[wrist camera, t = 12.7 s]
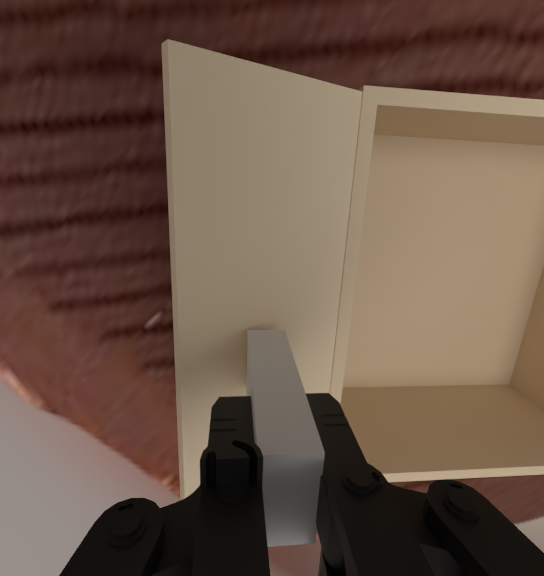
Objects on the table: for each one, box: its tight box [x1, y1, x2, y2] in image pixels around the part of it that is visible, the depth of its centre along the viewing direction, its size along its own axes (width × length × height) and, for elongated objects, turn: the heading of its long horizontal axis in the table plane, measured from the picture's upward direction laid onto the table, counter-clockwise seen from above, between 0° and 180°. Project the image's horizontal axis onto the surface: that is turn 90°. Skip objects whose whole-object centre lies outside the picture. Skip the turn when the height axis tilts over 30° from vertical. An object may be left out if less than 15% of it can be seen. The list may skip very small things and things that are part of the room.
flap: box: [162, 39, 363, 500], centre depth 15 cm, size 21×1×8 cm
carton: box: [329, 85, 544, 482], centre depth 24 cm, size 22×21×10 cm
